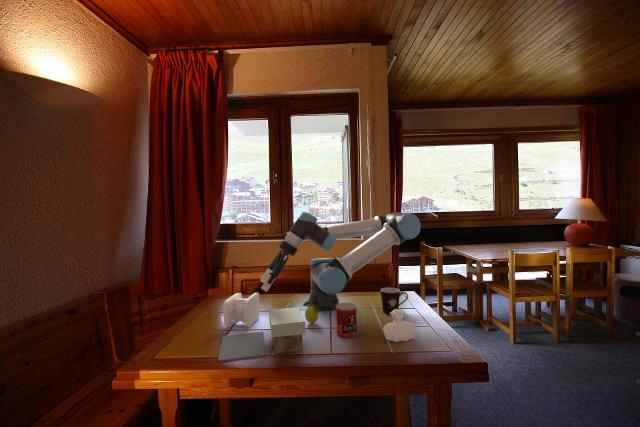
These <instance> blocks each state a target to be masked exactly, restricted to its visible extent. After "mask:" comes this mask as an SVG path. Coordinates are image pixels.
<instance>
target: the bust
mask: <svg viewBox="0 0 640 427" xmlns="http://www.w3.org/2000/svg"><path fill="white" fill-rule="evenodd" d="M405 315H406V311H403V310H401V309H399V308H398V309H394V310H393V311H392V312H390V316H391V318H392V319H393V321H391V322H388V323H387V324H386V323H385V325H384V326H383V328H382V331H383V334H384V336H385V338H386V340H388V341H391V342H395V343H398V342H408V341H411V340H413V339H414V338H415V337H416V330H417V328H416V325H415V324H414V323H412V322H409V321H406V320H405V321H404V320H403V319H404V316H405Z"/></svg>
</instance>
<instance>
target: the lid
mask: <svg viewBox="0 0 640 427" xmlns="http://www.w3.org/2000/svg"><path fill="white" fill-rule="evenodd" d="M305 320H306V319H305V317H304V315H303V314H302V312H301V309H300V308H299V306H296V307H295V306H294V307H285V308H273V309H272V308H271V309H268V322H269V326H270V327H269V328H270V333H271V338H273V337H281V336H290V335H298V334H302V335H305V334H306V321H305Z"/></svg>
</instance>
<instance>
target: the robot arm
mask: <svg viewBox="0 0 640 427" xmlns="http://www.w3.org/2000/svg"><path fill="white" fill-rule="evenodd" d="M317 222H318V218H317V217H316V216H315V215H314V214H311V213H310V212H308V211H305V210H304V211H302V212H301V214H300V215H299V216H298V217H297V219H296V221H295V222H294V223H293V225H292V227H291V228H290V229H289V231H288V232H286V233H285V234H286V236H284V239H283V240H282V241H281V243H280V244H279V245H278V246H279V248H280V250H279V252H278V253H277V254H276V256H275V257H274V258H273V260H272V261H271V262H270V264H269V265H268V268H267V269H266V271H265V272H264V274H262V277H261V278H260V280H259V281H260V282H261V283H263V285H262V286H261V290H263V291H265V292H266V293H267V292H268V291H269V290H270V288H271V286H272V285H273V283H274V281H275V280H276V279H278V278H279V276H280V274H281V272H282V270H283V268H284V267H285V265H286V264H287V261H288V260H289V258H290V257H289V255H290V256H292V257H294V256H295V255H296V253H297V252H298V249H299V248H300V247H302V244H303V242H304V241H305V239H306V238H307V240H309V241H310V242H311V243H314V244H315V245H317V246H318V247H320V248H321V249H322V250H324V251H326V252H329V251H330V250H332V248H333V247H334V245H335V244H336V242H337V240H344V239H351V238H356V237H358V238H359V237H363V236H370V237H369V238H368V239H367V240H365V241H363V242H361V243H360V244H359V245H357V246H356V247H355V248H353V249H352V250H350V251H349V252H348V253H345V255H343V256H342V257H335V258H333V257H323V258H322V257H321V258H313V259H311V260H310V263H309V264H310V265H309V268H310V293H309V295H308V300H307V301H308V302H311V300H312V306H313V305H314V306H315V307H316V308H317V310H318V311H331V310H334V309H335V310H336V305H337V304H339V303H340V301H339V300H340V299H339V297H338V293H340V292H342V290H344V288H345V287H346V284H347V283H348V282H349V281H350V280H351V279H352V276H353V274H354V273H356V272H357V271H358V270H360V269H361V268H363V267H364V266H365V265H367V264H368V263H370V262H371V261H373V260H374V259H376V258H377V257H379V256H380V255H381V254H382V253H384V252H385V251H386V250H388V249H389V248H391V247H392V246H394V245H397V246H400V245H401V244H403V243H404V242H405V241H406V240H412V239H413V240H414V239H415V238H416V237H417V236H418V235H419V234H420V232H421V228H422V226H421V221H420V218H418V216H417V215H416V214H414V213H411V212H408V211H407V212H398V211H396V212H394V211H393V212H390V213H386V214H381V215H376V216H375V217H373V218H370V219H364V220H357V221H348V222H344V223H343V222H342V223H335V224H330V225H322V226H320V225H319V224H317ZM371 235H372V236H371ZM310 306H311V303H310V305H308V306H307V308H308V307H310Z"/></svg>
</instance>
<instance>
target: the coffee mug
mask: <svg viewBox="0 0 640 427" xmlns="http://www.w3.org/2000/svg"><path fill="white" fill-rule="evenodd" d="M403 294H405V295H406V298H405V299H403V301H402V302H400V297H401V296H402V295H403ZM408 298H409V295H408V293H407V292H404V291H403V292H401V290H400V289H399V288H396V287H383V288H380V299H381V304H382V311H383V313H384V314H385V315H388V316H389V315H390V312H392V311H393V310H394V309H398V310H399V307H400V306H401V305H402V304H404V303H405V302H406V301H407V300H408ZM390 316H391V315H390Z"/></svg>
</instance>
